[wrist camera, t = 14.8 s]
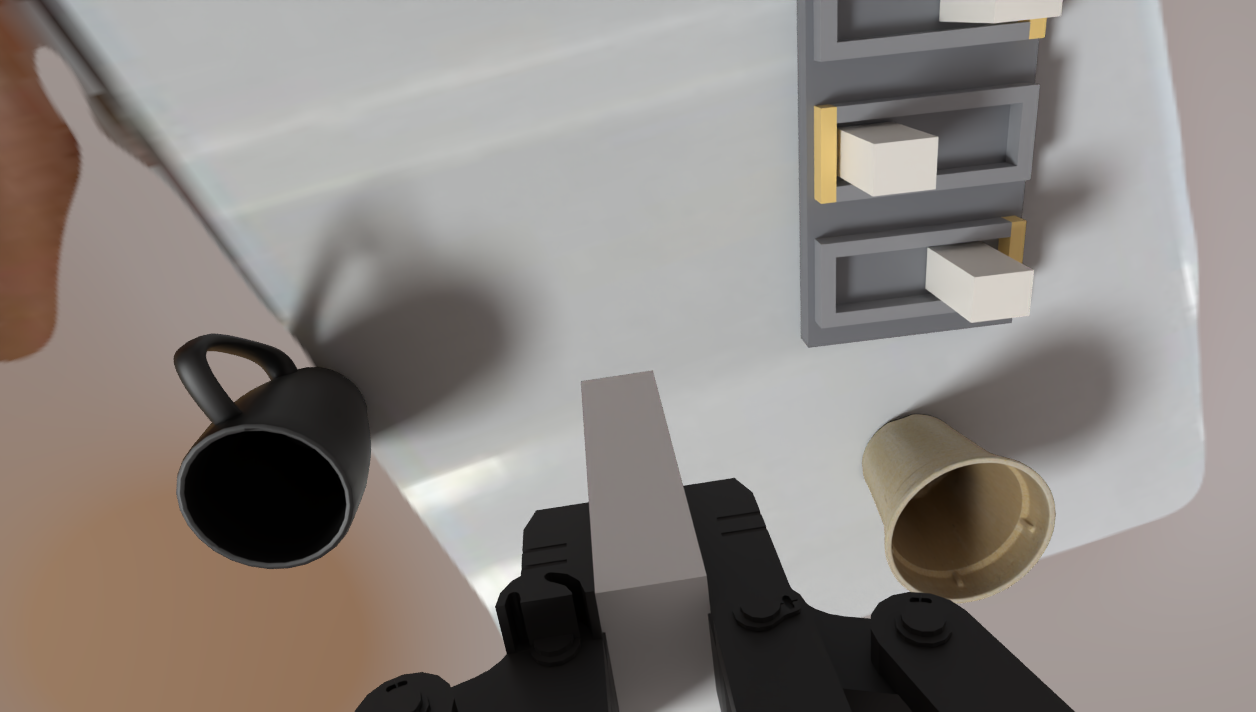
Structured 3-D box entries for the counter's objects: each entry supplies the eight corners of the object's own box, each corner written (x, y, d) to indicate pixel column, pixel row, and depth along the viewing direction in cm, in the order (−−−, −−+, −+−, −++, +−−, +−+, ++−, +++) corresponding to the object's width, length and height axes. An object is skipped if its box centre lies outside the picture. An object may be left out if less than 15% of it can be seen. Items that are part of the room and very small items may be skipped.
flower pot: (846, 388, 50) (901, 460, 42) (993, 387, 51) (1074, 456, 43) (827, 518, 54) (874, 606, 46) (964, 515, 55) (1034, 601, 47)
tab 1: (835, 127, 42) (874, 144, 37) (892, 121, 42) (938, 136, 37) (835, 174, 43) (872, 196, 38) (891, 168, 43) (935, 189, 38)
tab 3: (927, 247, 45) (974, 277, 40) (980, 241, 45) (1034, 270, 40) (925, 288, 46) (970, 322, 41) (977, 282, 46) (1029, 315, 41)
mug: (322, 264, 44) (266, 327, 36) (413, 446, 49) (383, 540, 40) (182, 312, 45) (93, 385, 36) (286, 488, 50) (229, 590, 41)
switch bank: (795, -80, 40) (812, -86, 37) (1036, -105, 40) (1067, -112, 38) (801, 338, 48) (814, 355, 46) (998, 313, 49) (1022, 330, 46)
